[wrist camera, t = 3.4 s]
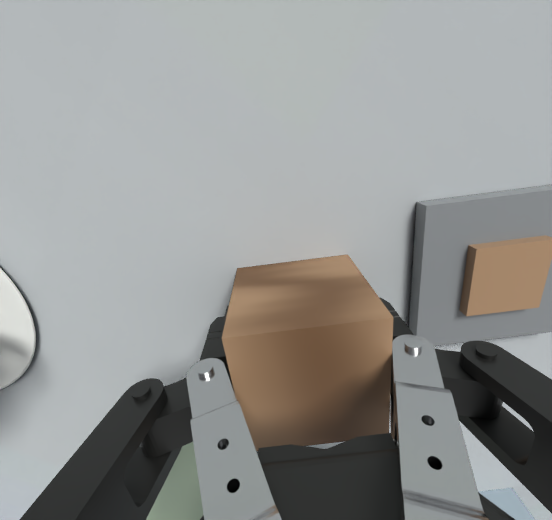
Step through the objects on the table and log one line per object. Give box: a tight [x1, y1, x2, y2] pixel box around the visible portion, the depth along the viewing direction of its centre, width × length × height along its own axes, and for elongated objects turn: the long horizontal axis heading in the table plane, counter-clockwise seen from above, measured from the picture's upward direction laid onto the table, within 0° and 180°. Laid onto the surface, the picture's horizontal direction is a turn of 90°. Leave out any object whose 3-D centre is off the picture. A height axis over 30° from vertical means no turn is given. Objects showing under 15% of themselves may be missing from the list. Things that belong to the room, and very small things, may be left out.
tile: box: [409, 185, 552, 346], centre depth 13 cm, size 7×7×1 cm
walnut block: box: [222, 255, 393, 451], centre depth 12 cm, size 5×5×5 cm
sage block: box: [146, 442, 203, 520], centre depth 16 cm, size 5×5×5 cm
